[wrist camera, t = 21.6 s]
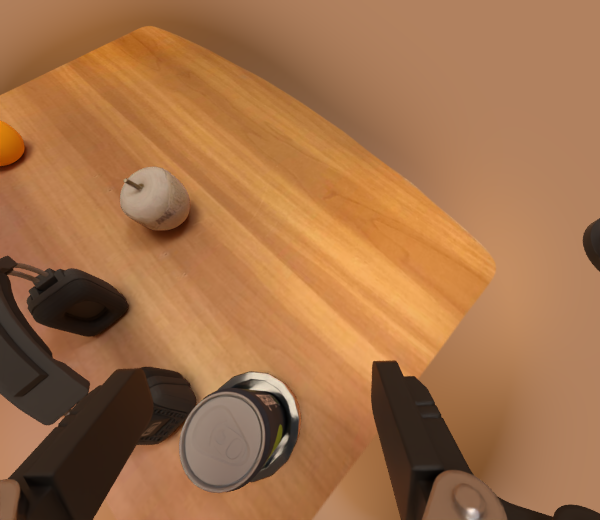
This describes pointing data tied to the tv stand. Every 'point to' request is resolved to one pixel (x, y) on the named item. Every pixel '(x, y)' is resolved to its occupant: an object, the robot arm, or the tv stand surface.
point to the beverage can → (230, 438)
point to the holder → (291, 408)
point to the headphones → (80, 320)
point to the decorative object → (155, 199)
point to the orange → (10, 144)
